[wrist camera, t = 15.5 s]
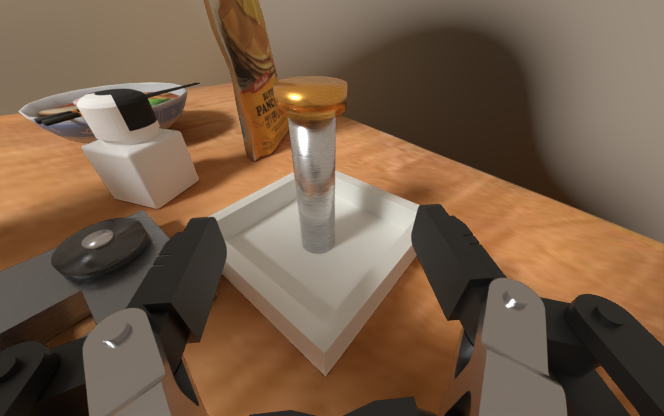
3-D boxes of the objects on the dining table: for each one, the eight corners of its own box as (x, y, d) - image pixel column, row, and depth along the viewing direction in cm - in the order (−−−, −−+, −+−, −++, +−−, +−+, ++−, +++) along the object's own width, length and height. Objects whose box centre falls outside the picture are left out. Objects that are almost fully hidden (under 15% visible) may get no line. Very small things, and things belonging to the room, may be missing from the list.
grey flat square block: (-29, 315, 19) (-84, 284, 17) (153, 228, 27) (135, 197, 24) (-22, 475, 12) (-112, 462, 10) (217, 297, 20) (200, 265, 18)
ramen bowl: (154, 111, 59) (137, 73, 54) (229, 125, 52) (217, 82, 47) (15, 155, 41) (-30, 103, 36) (100, 184, 34) (59, 125, 29)
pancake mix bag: (223, 164, 38) (133, -133, 21) (266, 122, 53) (233, -72, 36) (265, 167, 37) (207, -138, 20) (296, 123, 52) (278, -74, 35)
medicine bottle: (161, 172, 36) (117, 82, 29) (201, 180, 35) (165, 86, 27) (114, 200, 31) (45, 98, 24) (158, 210, 29) (99, 104, 22)
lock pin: (284, 243, 24) (257, 84, 15) (317, 219, 27) (309, 73, 18) (319, 268, 22) (311, 97, 13) (351, 239, 24) (361, 82, 16)
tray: (201, 253, 24) (188, 226, 22) (315, 184, 34) (313, 161, 31) (325, 376, 16) (324, 353, 14) (428, 239, 25) (437, 212, 23)
